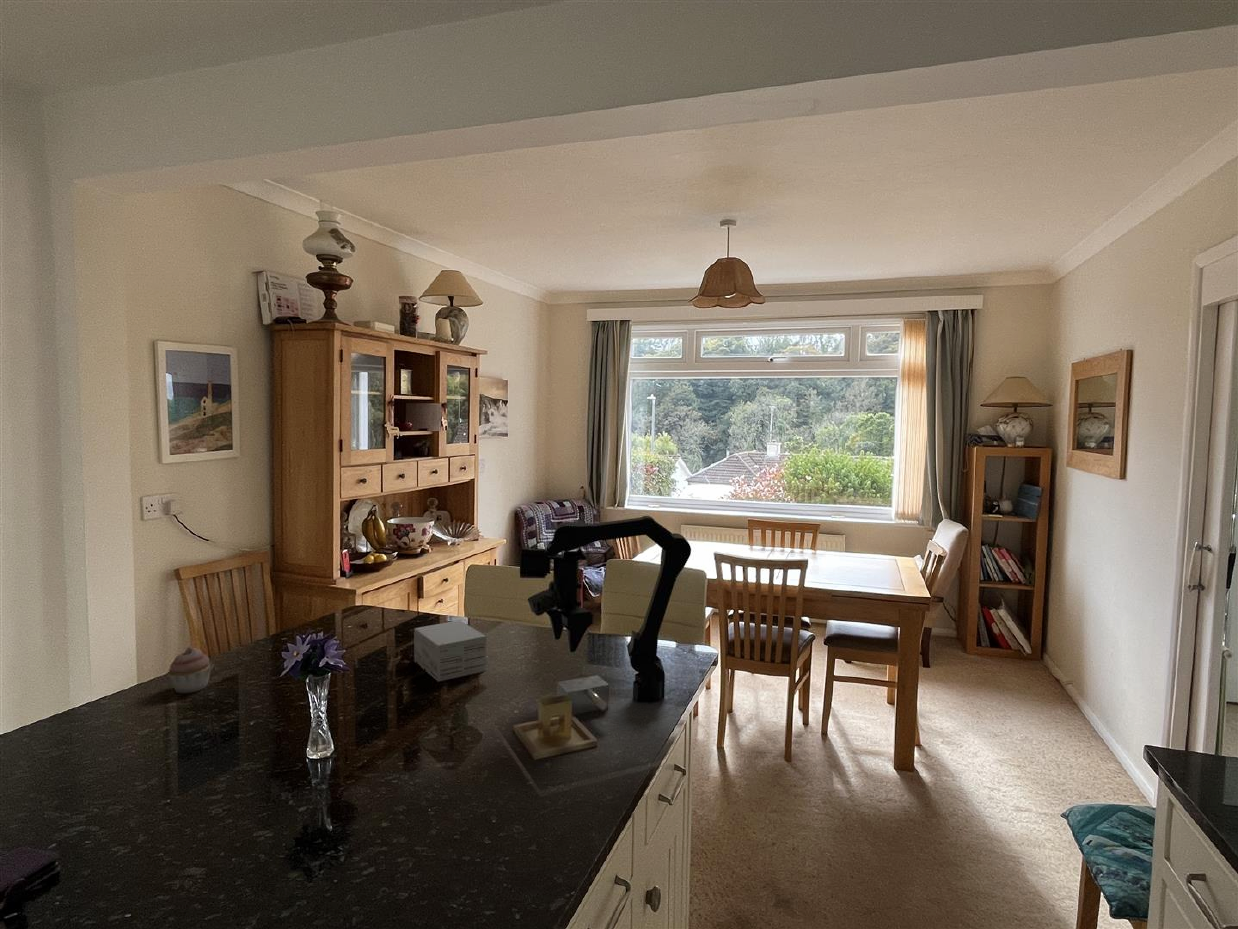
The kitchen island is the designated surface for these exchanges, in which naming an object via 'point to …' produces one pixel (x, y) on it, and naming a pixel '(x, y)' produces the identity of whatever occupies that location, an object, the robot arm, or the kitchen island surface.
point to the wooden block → (548, 710)
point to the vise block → (585, 693)
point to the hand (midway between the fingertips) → (564, 645)
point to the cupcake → (190, 671)
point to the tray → (539, 750)
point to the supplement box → (450, 650)
